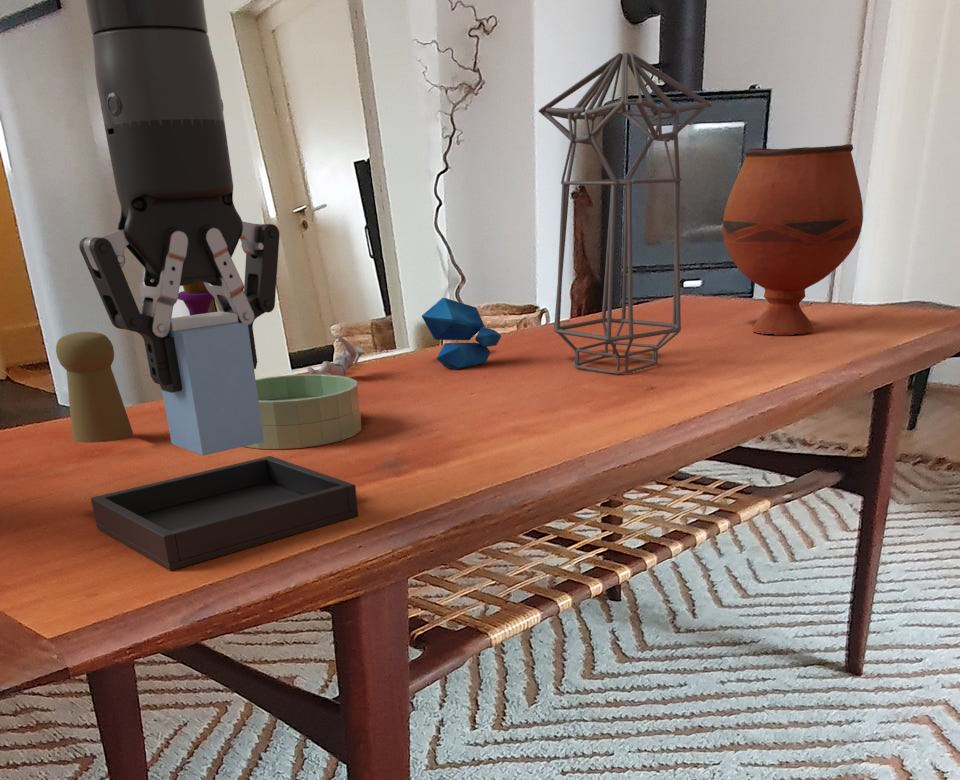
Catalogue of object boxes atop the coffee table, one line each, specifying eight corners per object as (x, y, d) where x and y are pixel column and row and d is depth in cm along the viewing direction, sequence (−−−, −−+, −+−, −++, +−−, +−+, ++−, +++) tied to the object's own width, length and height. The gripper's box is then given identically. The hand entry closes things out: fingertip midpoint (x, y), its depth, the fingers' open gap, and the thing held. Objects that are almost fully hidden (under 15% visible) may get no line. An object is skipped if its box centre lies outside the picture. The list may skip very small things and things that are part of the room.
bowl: (273, 462, 90) (266, 408, 87) (206, 439, 99) (198, 389, 96) (387, 435, 97) (383, 384, 95) (315, 415, 106) (310, 369, 104)
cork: (60, 452, 96) (33, 337, 91) (98, 437, 101) (75, 328, 96) (111, 455, 94) (87, 338, 89) (148, 439, 99) (127, 328, 94)
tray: (170, 571, 66) (163, 536, 64) (97, 528, 74) (90, 497, 73) (358, 515, 75) (355, 484, 74) (274, 483, 83) (270, 455, 82)
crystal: (515, 308, 128) (447, 296, 120) (506, 375, 131) (439, 368, 123) (478, 304, 133) (410, 292, 125) (470, 369, 136) (403, 361, 128)
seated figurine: (284, 399, 119) (317, 352, 127) (317, 423, 121) (347, 375, 129) (315, 358, 114) (346, 311, 122) (348, 384, 116) (377, 336, 124)
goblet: (696, 326, 153) (706, 150, 142) (809, 319, 156) (828, 145, 145) (747, 345, 136) (764, 146, 125) (873, 336, 139) (900, 141, 128)
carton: (202, 455, 69) (180, 324, 65) (171, 444, 72) (148, 318, 68) (264, 441, 72) (246, 314, 68) (231, 431, 75) (212, 309, 71)
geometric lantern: (531, 368, 126) (528, 57, 111) (612, 351, 135) (619, 61, 120) (623, 384, 115) (634, 41, 100) (704, 364, 125) (725, 48, 109)
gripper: (234, 120, 69) (267, 363, 77) (31, 121, 61) (90, 394, 68) (290, 113, 64) (319, 374, 72) (76, 113, 56) (135, 409, 63)
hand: (207, 383), depth 70 cm, fingers closed on carton, 5 cm apart
